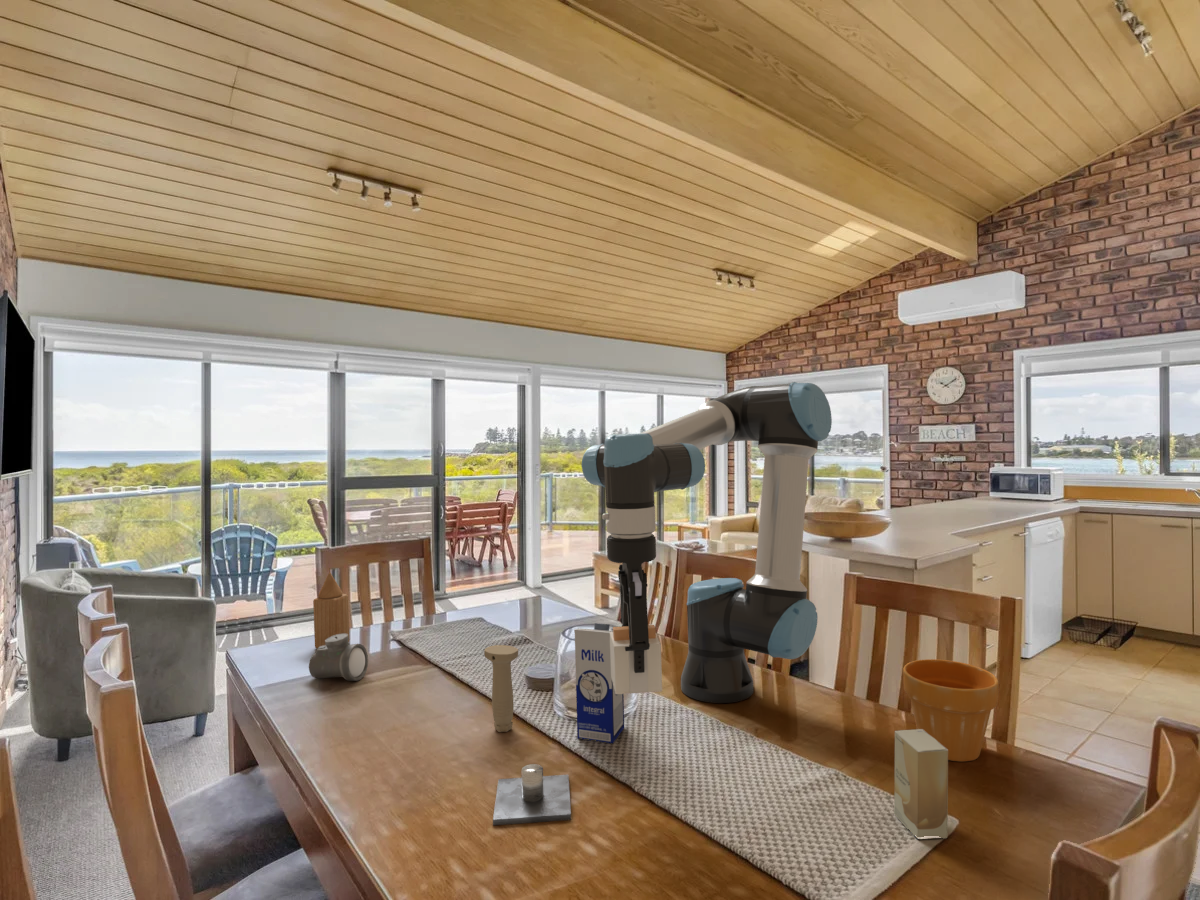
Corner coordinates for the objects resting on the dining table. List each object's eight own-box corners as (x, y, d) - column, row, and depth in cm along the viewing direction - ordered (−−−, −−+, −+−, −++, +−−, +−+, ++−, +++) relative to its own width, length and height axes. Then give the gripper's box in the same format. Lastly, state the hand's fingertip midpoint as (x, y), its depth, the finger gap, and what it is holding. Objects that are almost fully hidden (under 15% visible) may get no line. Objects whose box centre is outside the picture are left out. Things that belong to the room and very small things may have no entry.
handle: (509, 738, 120) (507, 656, 119) (481, 731, 123) (479, 651, 122) (525, 727, 124) (522, 648, 123) (497, 720, 127) (495, 643, 127)
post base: (568, 779, 105) (567, 749, 105) (571, 819, 94) (570, 786, 94) (498, 784, 104) (497, 754, 104) (493, 825, 93) (492, 791, 93)
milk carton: (576, 738, 119) (573, 628, 118) (589, 722, 125) (587, 618, 125) (613, 744, 116) (610, 631, 116) (625, 727, 123) (622, 620, 122)
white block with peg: (654, 674, 106) (652, 619, 105) (662, 691, 99) (660, 633, 98) (611, 676, 105) (609, 622, 105) (615, 694, 98) (613, 635, 98)
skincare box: (893, 814, 93) (891, 729, 93) (922, 812, 94) (921, 727, 93) (918, 842, 87) (917, 750, 86) (950, 840, 87) (949, 748, 87)
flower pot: (988, 736, 116) (987, 662, 115) (1009, 776, 102) (1008, 693, 102) (899, 726, 120) (899, 655, 120) (909, 763, 107) (908, 684, 107)
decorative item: (313, 649, 173) (311, 573, 173) (328, 641, 180) (325, 568, 179) (337, 649, 172) (334, 573, 172) (350, 641, 179) (348, 568, 178)
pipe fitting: (373, 671, 155) (365, 629, 154) (352, 687, 147) (344, 642, 146) (329, 673, 158) (321, 632, 157) (307, 689, 150) (298, 646, 149)
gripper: (601, 525, 111) (605, 661, 111) (613, 546, 91) (618, 711, 92) (645, 523, 111) (649, 658, 112) (667, 544, 91) (671, 707, 92)
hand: (635, 681), depth 102 cm, fingers closed on white block with peg, 7 cm apart
